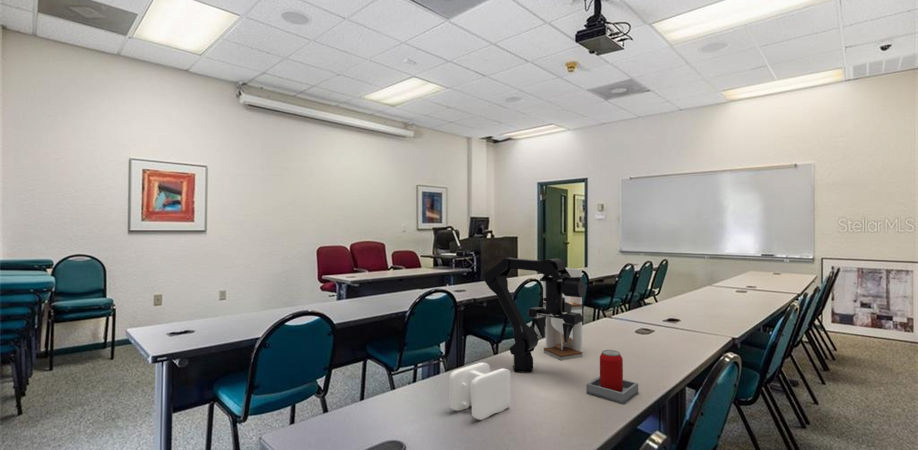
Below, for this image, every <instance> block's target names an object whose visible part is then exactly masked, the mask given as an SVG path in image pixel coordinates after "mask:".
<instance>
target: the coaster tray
mask: <svg viewBox="0 0 918 450" xmlns="http://www.w3.org/2000/svg"><path fill="white" fill-rule="evenodd" d="M585 385H586V390H585V391H586V395H589V396H594V397H596V398H600V399H604V400H607V401H611V402H614V403H618V404H621V405H624V404H626V403H627V402H628V401H630V400H632V398H634V397H635V396H637V394H639V382H634V381H632V380H631V381H630V380H627V379H623V390H622V391H621V392H618V391H614V390H611V389H607V388H603V387H600V375H599V376H597V377H595V378H594V379H593V380H591V381H589V382H587V383H586V384H585Z"/></svg>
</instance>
